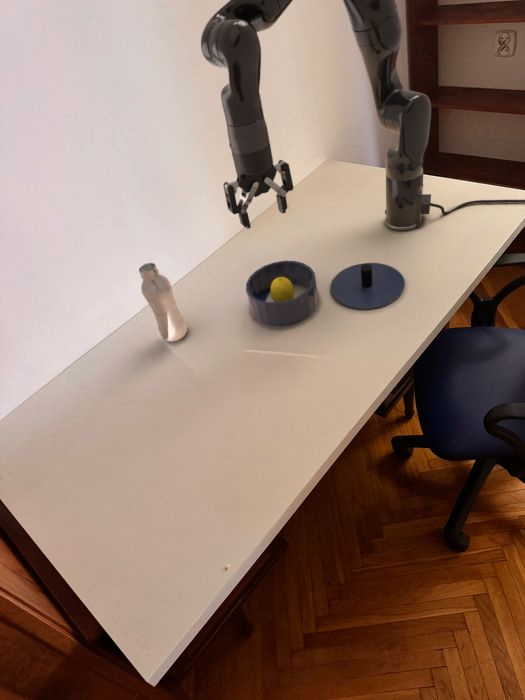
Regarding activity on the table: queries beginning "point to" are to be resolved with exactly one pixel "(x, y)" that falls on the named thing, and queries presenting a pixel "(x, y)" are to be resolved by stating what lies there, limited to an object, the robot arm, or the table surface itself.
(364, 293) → the pot lid
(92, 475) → the table surface
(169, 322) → the plastic bottle
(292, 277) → the pot
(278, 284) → the lemon
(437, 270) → the table surface
